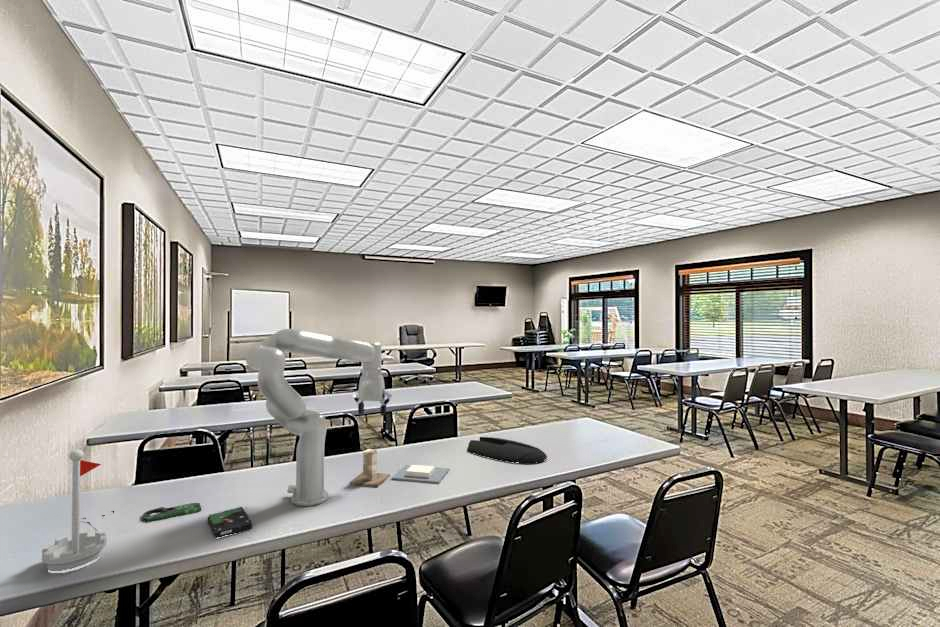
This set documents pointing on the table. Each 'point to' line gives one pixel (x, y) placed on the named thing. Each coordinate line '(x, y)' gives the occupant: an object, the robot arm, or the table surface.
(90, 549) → the flag stand
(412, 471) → the tile
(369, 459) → the block
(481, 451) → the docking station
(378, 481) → the plate
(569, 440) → the table surface
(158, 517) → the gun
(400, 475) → the mat
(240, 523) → the disk drive
